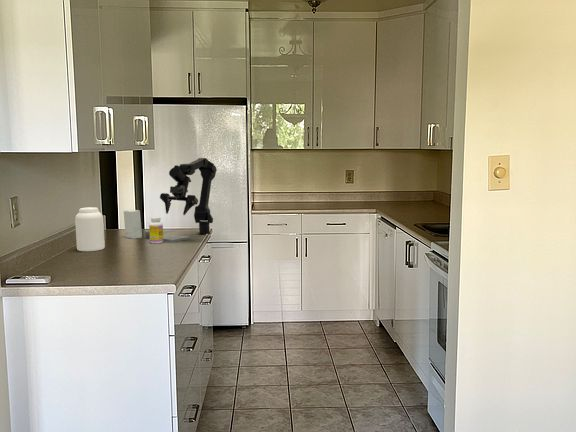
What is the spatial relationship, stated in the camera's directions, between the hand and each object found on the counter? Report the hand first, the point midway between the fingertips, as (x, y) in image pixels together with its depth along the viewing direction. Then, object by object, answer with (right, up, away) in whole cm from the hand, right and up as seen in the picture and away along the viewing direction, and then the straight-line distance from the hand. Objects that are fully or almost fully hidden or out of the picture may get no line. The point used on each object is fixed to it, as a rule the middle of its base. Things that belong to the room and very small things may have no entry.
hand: (175, 214), depth 270 cm
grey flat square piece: (-3, -13, +12) cm, 18 cm away
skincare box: (-27, -13, +20) cm, 36 cm away
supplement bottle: (-10, -15, +3) cm, 18 cm away
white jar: (-37, -17, -13) cm, 43 cm away
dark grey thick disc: (-16, -13, +19) cm, 27 cm away
